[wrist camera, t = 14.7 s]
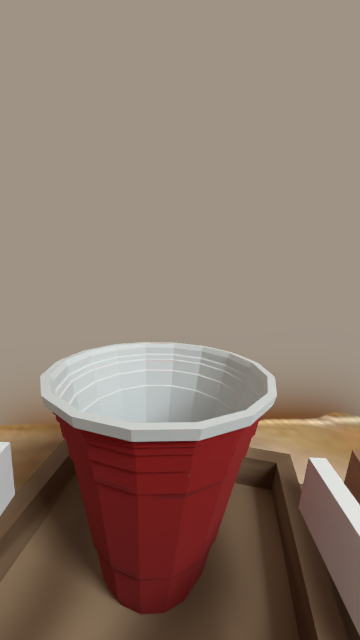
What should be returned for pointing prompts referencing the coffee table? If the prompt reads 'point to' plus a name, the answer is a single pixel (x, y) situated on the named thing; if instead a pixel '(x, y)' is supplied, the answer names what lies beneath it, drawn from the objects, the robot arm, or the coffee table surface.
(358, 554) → the robot arm
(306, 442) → the coffee table surface
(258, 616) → the cup dock
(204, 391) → the plastic cup
